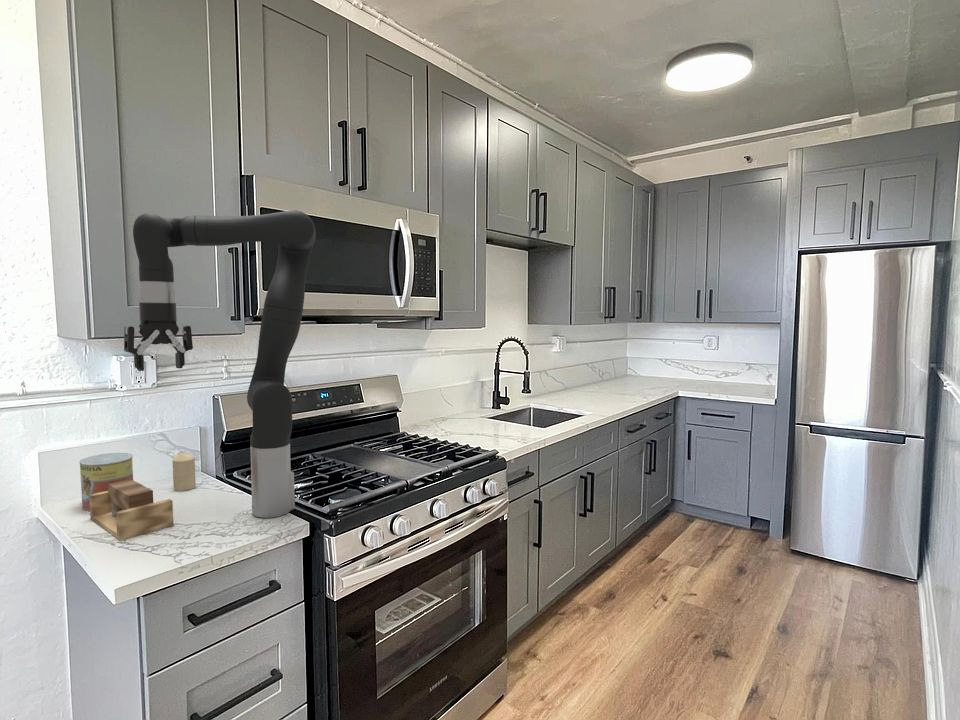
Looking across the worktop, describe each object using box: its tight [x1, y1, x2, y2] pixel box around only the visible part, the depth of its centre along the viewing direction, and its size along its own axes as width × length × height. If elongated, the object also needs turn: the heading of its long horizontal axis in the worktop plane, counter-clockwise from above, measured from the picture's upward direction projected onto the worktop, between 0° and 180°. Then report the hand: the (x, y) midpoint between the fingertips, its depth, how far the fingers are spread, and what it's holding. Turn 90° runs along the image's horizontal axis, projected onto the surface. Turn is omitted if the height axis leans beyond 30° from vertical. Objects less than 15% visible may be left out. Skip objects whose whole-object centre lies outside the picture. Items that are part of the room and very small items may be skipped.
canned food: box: [78, 452, 134, 513], centre depth 140 cm, size 11×11×12 cm
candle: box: [172, 452, 197, 492], centre depth 153 cm, size 6×6×10 cm
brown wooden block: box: [108, 479, 154, 510], centre depth 129 cm, size 13×5×4 cm, turn 52°
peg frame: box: [89, 483, 174, 541], centre depth 129 cm, size 11×19×6 cm, turn 52°
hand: (160, 369), depth 130 cm, fingers open, 8 cm apart
